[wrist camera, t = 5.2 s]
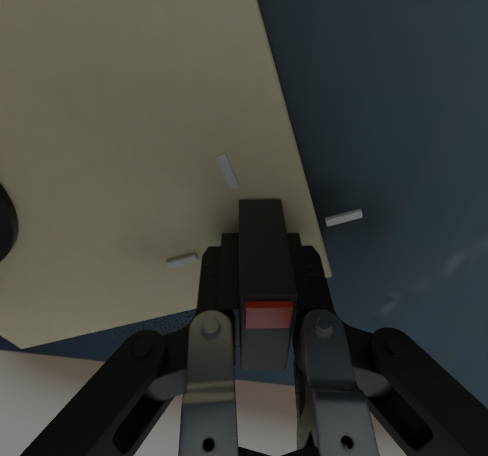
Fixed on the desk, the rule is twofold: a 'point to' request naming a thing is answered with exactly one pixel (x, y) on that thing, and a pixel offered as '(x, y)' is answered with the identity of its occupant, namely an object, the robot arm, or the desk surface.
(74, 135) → the hot plate
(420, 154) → the desk surface
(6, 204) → the burner
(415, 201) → the desk surface
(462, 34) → the desk surface
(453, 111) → the desk surface
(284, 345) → the black box with red
